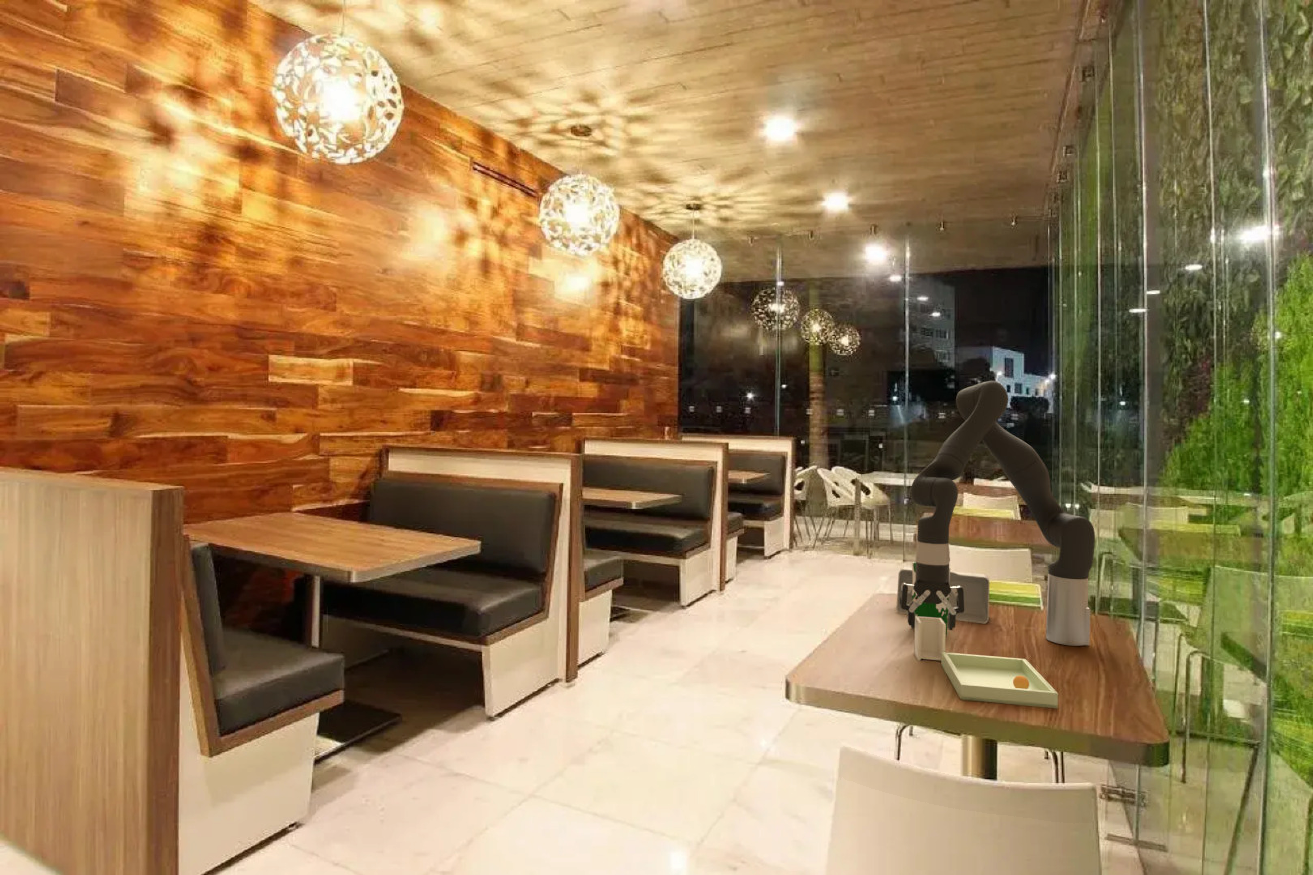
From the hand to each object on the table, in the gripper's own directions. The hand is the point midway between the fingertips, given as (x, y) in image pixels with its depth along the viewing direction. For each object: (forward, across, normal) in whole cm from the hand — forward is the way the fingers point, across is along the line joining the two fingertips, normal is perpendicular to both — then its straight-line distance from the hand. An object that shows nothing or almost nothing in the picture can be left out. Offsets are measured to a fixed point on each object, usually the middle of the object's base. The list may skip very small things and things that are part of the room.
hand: (931, 628), depth 175 cm
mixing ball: (+5, -15, +20) cm, 25 cm away
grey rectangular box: (+8, -11, -48) cm, 50 cm away
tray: (+7, -10, +16) cm, 20 cm away
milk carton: (+7, -4, -25) cm, 26 cm away
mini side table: (+7, 0, 0) cm, 7 cm away
